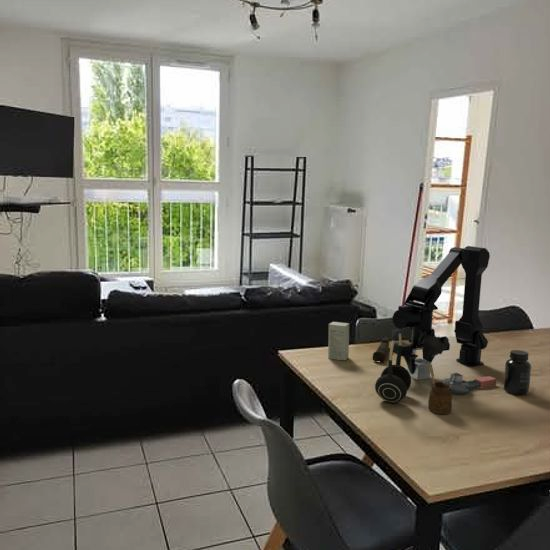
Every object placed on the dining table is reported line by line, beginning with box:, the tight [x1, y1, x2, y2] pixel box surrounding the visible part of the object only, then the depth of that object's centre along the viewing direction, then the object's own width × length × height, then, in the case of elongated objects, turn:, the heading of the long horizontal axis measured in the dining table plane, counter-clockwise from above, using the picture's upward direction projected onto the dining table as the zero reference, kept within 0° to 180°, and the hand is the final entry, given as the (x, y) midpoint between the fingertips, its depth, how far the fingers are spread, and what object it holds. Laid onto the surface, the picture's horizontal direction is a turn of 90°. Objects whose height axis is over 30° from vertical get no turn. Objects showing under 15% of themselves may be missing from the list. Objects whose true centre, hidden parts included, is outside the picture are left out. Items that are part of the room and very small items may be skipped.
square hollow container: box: [406, 357, 432, 381], centre depth 163 cm, size 5×5×5 cm
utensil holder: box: [427, 363, 454, 415], centre depth 138 cm, size 6×6×12 cm
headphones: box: [374, 328, 412, 403], centre depth 145 cm, size 9×15×20 cm, turn 157°
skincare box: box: [327, 321, 350, 361], centre depth 178 cm, size 6×4×12 cm
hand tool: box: [372, 336, 390, 363], centre depth 184 cm, size 19×4×5 cm, turn 157°
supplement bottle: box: [503, 349, 532, 396], centre depth 152 cm, size 7×7×12 cm
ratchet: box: [442, 372, 497, 396], centre depth 155 cm, size 18×7×5 cm, turn 114°
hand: (418, 372), depth 163 cm, fingers closed on square hollow container, 5 cm apart
